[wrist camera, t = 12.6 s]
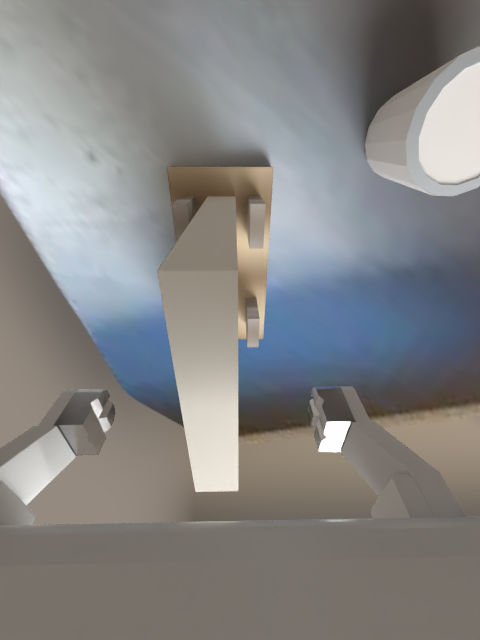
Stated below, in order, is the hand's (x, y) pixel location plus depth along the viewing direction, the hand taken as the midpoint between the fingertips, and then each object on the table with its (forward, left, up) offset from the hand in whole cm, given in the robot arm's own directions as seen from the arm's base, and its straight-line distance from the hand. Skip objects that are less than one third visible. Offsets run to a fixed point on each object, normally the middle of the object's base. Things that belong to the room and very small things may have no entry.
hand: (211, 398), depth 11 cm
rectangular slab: (0, 0, -16) cm, 16 cm away
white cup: (-10, +14, -17) cm, 24 cm away
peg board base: (0, 0, -17) cm, 17 cm away
